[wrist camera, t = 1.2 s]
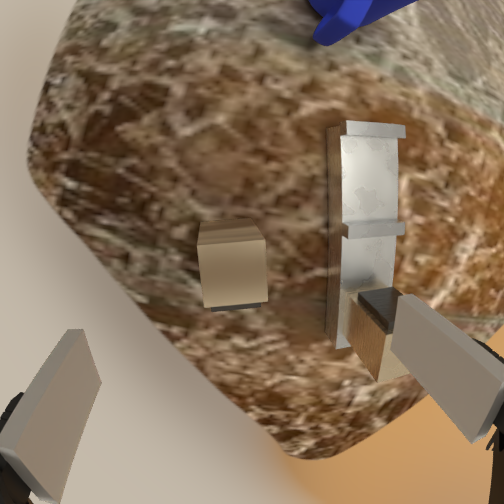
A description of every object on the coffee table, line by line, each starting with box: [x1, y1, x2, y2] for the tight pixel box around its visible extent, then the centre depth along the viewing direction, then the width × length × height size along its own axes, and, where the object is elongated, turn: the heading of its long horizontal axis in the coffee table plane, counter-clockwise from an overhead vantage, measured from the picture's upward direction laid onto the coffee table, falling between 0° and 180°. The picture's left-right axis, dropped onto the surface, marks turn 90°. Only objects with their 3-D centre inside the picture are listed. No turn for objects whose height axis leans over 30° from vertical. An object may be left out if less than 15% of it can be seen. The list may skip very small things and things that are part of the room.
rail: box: [325, 121, 410, 383], centre depth 22 cm, size 19×5×10 cm, turn 3°
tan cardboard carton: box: [197, 218, 268, 312], centre depth 23 cm, size 5×4×7 cm
